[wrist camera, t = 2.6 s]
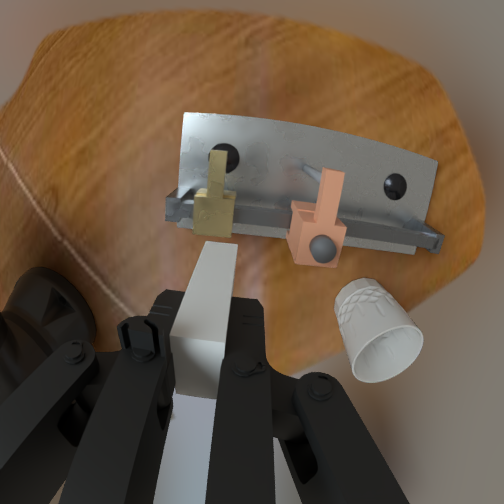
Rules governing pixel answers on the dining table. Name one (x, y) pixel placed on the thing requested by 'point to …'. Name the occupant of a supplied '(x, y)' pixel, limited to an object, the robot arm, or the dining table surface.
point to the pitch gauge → (298, 182)
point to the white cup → (375, 331)
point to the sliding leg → (318, 222)
